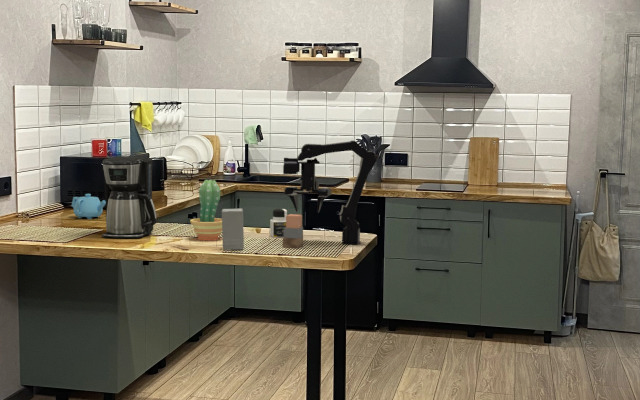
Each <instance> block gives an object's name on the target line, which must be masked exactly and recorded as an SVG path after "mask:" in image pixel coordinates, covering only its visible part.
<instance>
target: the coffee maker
mask: <svg viewBox="0 0 640 400" xmlns="http://www.w3.org/2000/svg"><path fill="white" fill-rule="evenodd" d="M101 162H102V171H103V179H104V193H105V194H104V196H105V201H106V204H105V224H106V225H105V227H106V228H105V229H106V230H105V231H106V232H104V233H102V234H101V236H102V237H103V238H110V239H140V238H143V237H146V236H150V235H151V233H152V231H154V225H156V224H157V220H158V219H157V212H156V207H155V204H154V201H153V158H152V157H147V156H144V155H143V156H141V155H137V156H136V155H135V156H134V155H131V156H130V155H120V156H119V155H117V156H111V157H108V158H106V159H105V158H104V159H103V160H102V161H101Z"/></svg>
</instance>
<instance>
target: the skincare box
mask: <svg viewBox="0 0 640 400" xmlns="http://www.w3.org/2000/svg"><path fill="white" fill-rule="evenodd" d="M221 219H222V232H221V233H222V238H221V239H222V250H223V251H224V250H225V251H227V250H229V251H231V250H232V251H233V250H244V247H245V234H244V233H245V232H244V209H243V207H242V208H222V210H221Z"/></svg>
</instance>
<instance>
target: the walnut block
mask: <svg viewBox="0 0 640 400" xmlns="http://www.w3.org/2000/svg"><path fill="white" fill-rule="evenodd" d="M302 247H304V236H303V237H301V238H299V239H294V238H282V248H286V249H300V248H302Z"/></svg>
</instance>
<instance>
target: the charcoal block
mask: <svg viewBox="0 0 640 400" xmlns="http://www.w3.org/2000/svg"><path fill="white" fill-rule="evenodd" d="M301 237H303V238H304V227H303V226H302V227H301V228H298V229H296V228H286V227H285V228H284V238H294V239H299V238H301Z"/></svg>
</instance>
